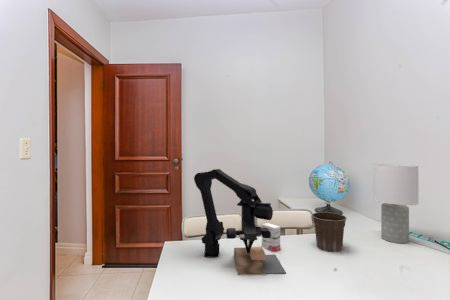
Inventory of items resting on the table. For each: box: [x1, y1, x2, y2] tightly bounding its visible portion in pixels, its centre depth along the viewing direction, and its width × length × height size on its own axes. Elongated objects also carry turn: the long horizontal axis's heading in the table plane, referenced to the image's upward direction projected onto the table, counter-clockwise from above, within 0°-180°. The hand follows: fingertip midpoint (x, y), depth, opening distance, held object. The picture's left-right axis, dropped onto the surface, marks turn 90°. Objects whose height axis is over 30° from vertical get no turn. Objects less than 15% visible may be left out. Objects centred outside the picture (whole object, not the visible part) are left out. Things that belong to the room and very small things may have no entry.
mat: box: [261, 254, 287, 275], centre depth 105 cm, size 10×17×1 cm, turn 3°
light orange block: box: [249, 246, 267, 260], centre depth 105 cm, size 6×9×2 cm, turn 2°
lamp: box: [372, 163, 419, 245], centre depth 135 cm, size 21×21×42 cm
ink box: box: [261, 222, 281, 253], centre depth 122 cm, size 8×5×12 cm, turn 39°
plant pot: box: [311, 211, 347, 253], centre depth 124 cm, size 16×16×16 cm
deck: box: [233, 247, 264, 276], centre depth 105 cm, size 10×17×4 cm, turn 3°
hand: (248, 252), depth 104 cm, fingers closed
